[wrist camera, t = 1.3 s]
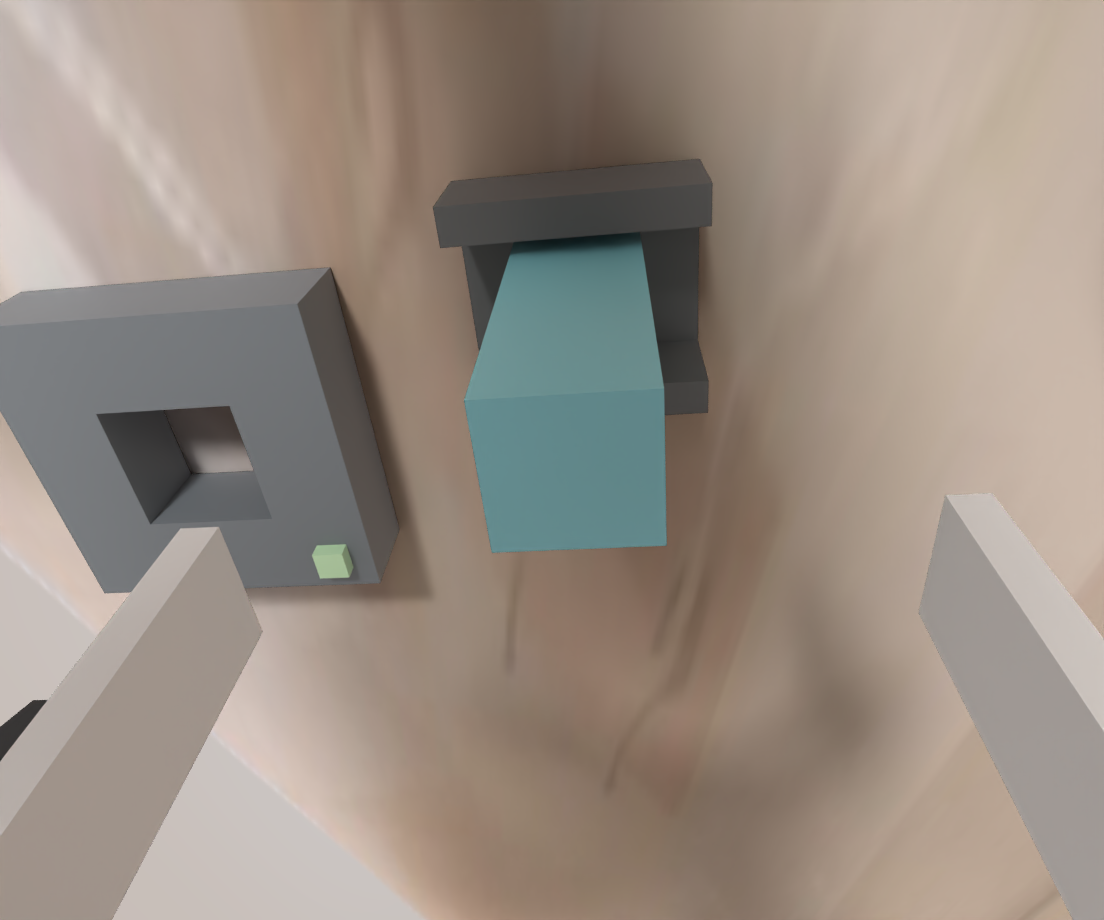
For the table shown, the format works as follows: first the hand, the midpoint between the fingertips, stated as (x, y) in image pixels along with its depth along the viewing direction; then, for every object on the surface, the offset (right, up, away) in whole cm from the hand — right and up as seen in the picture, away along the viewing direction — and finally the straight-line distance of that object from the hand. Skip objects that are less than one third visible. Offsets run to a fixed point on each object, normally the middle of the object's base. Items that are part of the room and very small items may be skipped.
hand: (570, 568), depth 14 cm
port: (-14, +4, +17) cm, 22 cm away
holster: (+1, +9, +13) cm, 15 cm away
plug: (+1, +8, +12) cm, 15 cm away
